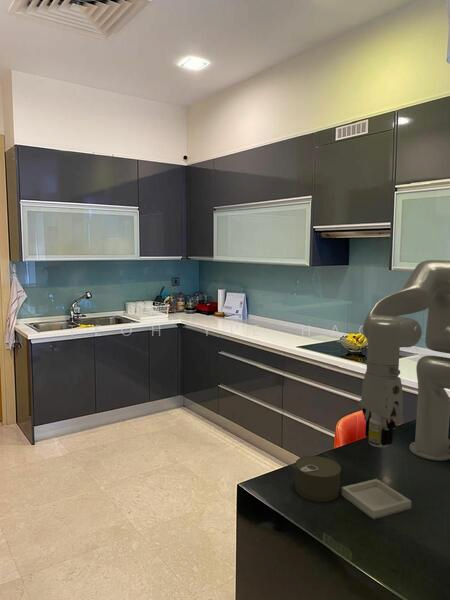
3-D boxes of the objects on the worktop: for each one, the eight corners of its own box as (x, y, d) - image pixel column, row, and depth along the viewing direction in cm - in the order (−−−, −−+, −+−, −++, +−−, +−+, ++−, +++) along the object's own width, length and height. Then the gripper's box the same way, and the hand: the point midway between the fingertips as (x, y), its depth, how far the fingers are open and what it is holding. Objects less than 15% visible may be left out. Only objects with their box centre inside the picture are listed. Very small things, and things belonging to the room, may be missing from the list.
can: (349, 495, 117) (351, 470, 117) (314, 506, 111) (315, 480, 111) (318, 475, 128) (319, 452, 127) (285, 485, 122) (286, 461, 121)
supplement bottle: (385, 440, 115) (387, 408, 114) (390, 448, 110) (392, 415, 109) (366, 439, 115) (368, 407, 114) (370, 447, 111) (372, 414, 110)
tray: (376, 486, 122) (376, 478, 122) (410, 508, 111) (411, 500, 111) (341, 494, 117) (341, 487, 117) (373, 519, 106) (374, 511, 106)
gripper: (420, 376, 105) (416, 451, 106) (370, 360, 120) (366, 426, 122) (396, 379, 102) (392, 456, 103) (347, 363, 117) (344, 430, 119)
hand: (378, 439), depth 113 cm, fingers closed on supplement bottle, 4 cm apart
